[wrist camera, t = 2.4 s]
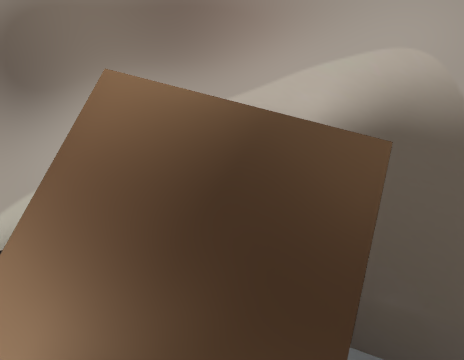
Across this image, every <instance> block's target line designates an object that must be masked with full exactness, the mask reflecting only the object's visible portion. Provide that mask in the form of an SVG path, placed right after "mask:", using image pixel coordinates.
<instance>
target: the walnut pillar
mask: <svg viewBox="0 0 464 360" xmlns="http://www.w3.org/2000/svg"><path fill="white" fill-rule="evenodd" d="M392 143H393V142H390V141H386V140H382V139H378V138H374V137H371V136H367V135H363V134H359V133H355V132H351V131H347V130H343V129H339V128H335V127H331V126H328V125H324V124H320V123H316V122H312V121H308V120H304V119H300V118H296V117H292V116H288V115H285V114H281V113H277V112H273V111H269V110H265V109H261V108H257V107H253V106H249V105H245V104H242V103H238V102H234V101H230V100H226V99H222V98H218V97H214V96H210V95H206V94H202V93H199V92H195V91H191V90H187V89H183V88H179V87H175V86H171V85H167V84H163V83H159V82H155V81H151V80H148V79H144V78H140V77H136V76H132V75H128V74H124V73H120V72H116V71H113V70H108V69H105V70H104V71H103V73H102V75H101V77H100V78H99V80H98V82H97V84H96V86H95V87H94V89H93V91H92V93H91V94H90V96H89V98H88V100H87V101H86V103H85V105H84V107H83V109H82V110H81V112H80V114H79V116H78V117H77V119H76V121H75V123H74V125H73V126H72V128H71V130H70V132H69V134H68V135H67V137H66V139H65V141H64V142H63V144H62V146H61V148H60V150H59V151H58V153H57V155H56V157H55V158H54V160H53V162H52V164H51V166H50V167H49V169H48V171H47V173H46V174H45V176H44V178H43V180H42V181H41V184H40V185H39V187H38V189H37V190H36V192H35V194H34V196H33V197H32V199H31V201H30V203H29V204H28V206H27V208H26V210H25V212H24V213H23V215H22V217H21V219H20V220H19V222H18V224H17V226H16V228H15V229H14V231H13V233H12V235H11V236H10V238H9V240H8V242H7V244H6V245H5V247H4V249H3V251H2V252H1V254H0V360H347V359H348V354H349V349H350V344H351V340H352V335H353V330H354V325H355V320H356V316H357V311H358V306H359V301H360V296H361V292H362V287H363V282H364V277H365V272H366V268H367V263H368V258H369V253H370V248H371V244H372V239H373V234H374V229H375V225H376V220H377V215H378V210H379V205H380V201H381V196H382V191H383V186H384V181H385V177H386V172H387V167H388V162H389V157H390V153H391V148H392Z"/></svg>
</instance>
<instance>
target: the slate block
mask: <svg viewBox="0 0 464 360" xmlns="http://www.w3.org/2000/svg"><path fill="white" fill-rule="evenodd" d="M347 360H384V359H381V358H378V357H375V356H373V355H370V354H367V353H364V352H361V351H359V350H356V349H353V348H350V349H349V354H348V359H347Z"/></svg>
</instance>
